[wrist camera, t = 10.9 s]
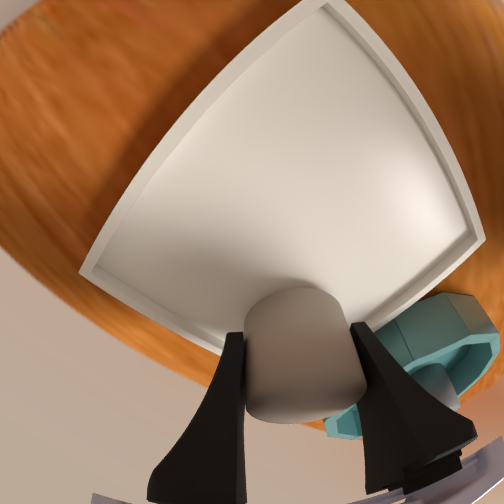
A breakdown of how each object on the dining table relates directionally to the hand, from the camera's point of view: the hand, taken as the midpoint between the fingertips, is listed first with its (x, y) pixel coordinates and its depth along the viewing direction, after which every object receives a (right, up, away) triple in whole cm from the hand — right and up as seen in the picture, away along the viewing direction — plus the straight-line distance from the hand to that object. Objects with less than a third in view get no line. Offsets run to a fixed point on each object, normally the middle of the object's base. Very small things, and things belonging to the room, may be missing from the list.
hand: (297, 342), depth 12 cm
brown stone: (0, +1, +1) cm, 1 cm away
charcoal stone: (+12, -7, +6) cm, 15 cm away
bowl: (+10, -4, +6) cm, 12 cm away
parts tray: (0, +4, 0) cm, 4 cm away
